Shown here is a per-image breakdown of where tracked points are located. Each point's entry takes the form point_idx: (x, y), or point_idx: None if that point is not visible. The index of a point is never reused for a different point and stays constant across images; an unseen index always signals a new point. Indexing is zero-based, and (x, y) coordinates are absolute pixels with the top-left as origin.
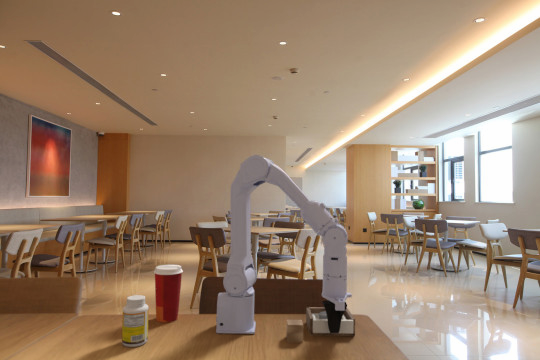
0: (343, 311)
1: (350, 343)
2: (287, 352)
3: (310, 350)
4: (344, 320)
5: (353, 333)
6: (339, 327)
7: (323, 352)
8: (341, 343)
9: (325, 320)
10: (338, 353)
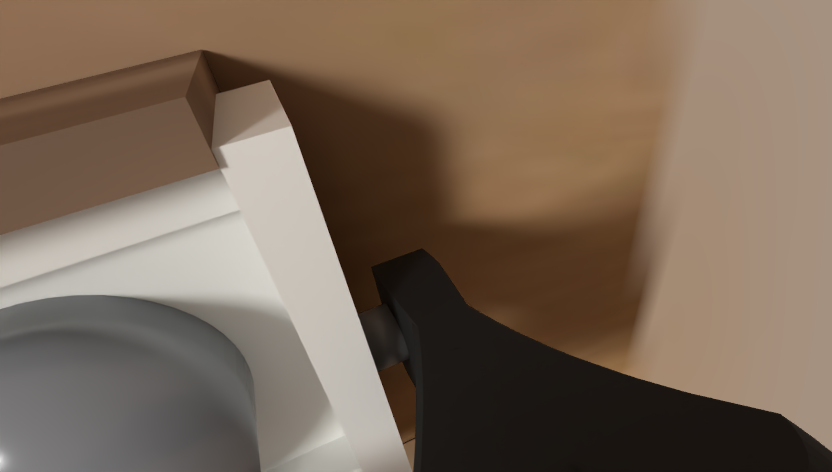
0: (663, 399)
1: (451, 97)
2: None
3: (590, 331)
4: (327, 277)
5: (208, 75)
6: (447, 276)
7: (617, 264)
8: (465, 180)
9: (401, 453)
10: (635, 175)
